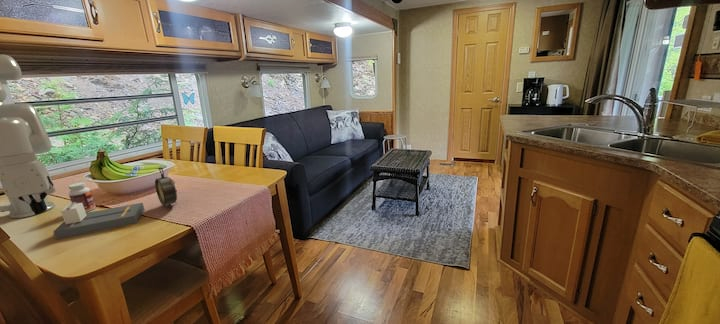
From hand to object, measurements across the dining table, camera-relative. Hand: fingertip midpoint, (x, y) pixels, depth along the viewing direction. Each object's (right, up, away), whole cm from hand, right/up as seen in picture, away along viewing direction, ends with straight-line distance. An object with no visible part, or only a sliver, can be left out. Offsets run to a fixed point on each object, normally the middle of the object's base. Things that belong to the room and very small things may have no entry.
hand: (41, 212), depth 97 cm
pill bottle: (-4, -3, +20) cm, 21 cm away
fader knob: (+7, -3, +5) cm, 9 cm away
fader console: (+14, -5, +9) cm, 17 cm away
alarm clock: (+30, -1, +21) cm, 36 cm away
